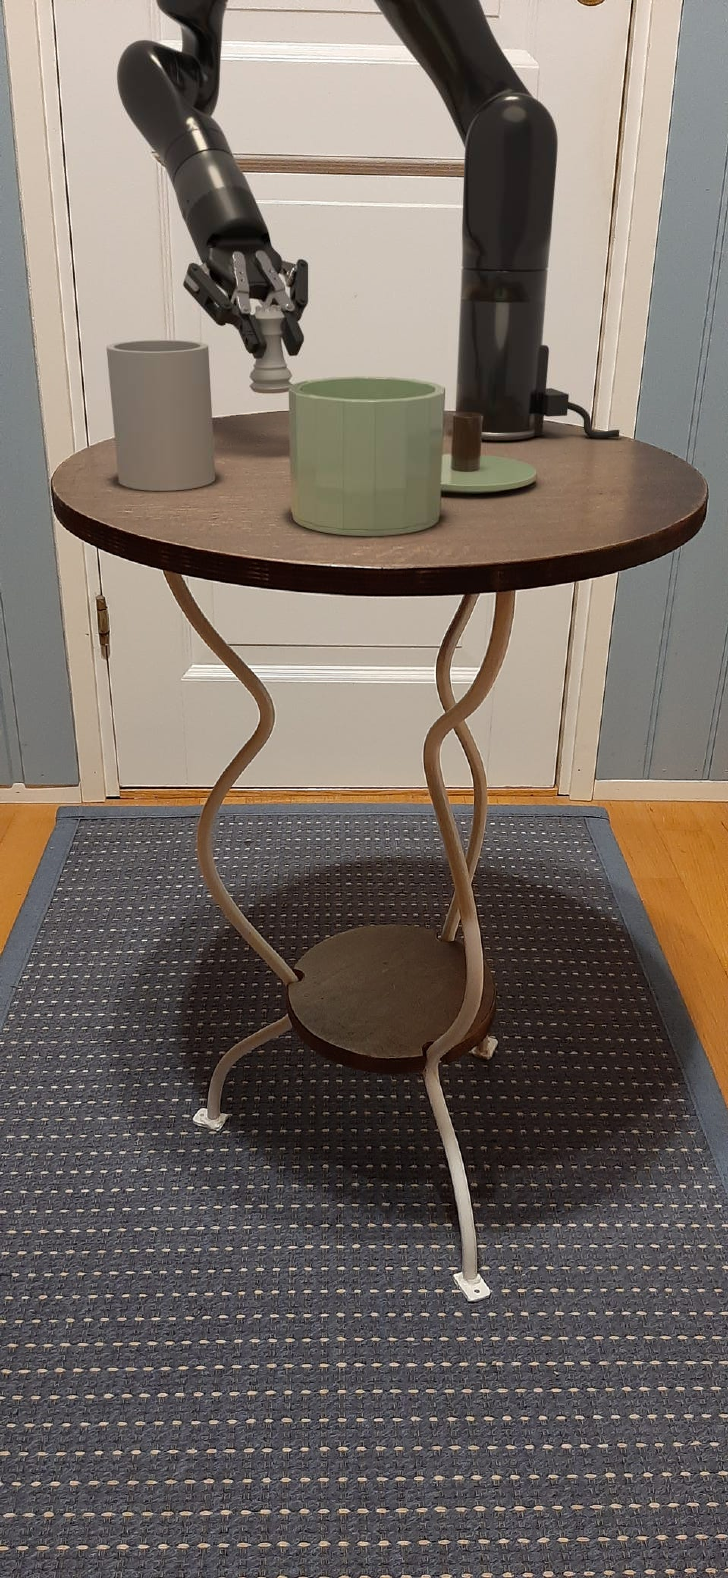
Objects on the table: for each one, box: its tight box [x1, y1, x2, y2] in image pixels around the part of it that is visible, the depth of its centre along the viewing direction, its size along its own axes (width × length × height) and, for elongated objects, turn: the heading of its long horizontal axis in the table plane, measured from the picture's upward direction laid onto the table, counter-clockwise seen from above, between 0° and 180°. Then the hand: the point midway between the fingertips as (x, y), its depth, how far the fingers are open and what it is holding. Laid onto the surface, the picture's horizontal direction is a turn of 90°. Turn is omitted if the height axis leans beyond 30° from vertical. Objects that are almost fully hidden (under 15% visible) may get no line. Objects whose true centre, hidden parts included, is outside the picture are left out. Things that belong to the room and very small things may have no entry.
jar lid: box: [441, 412, 538, 494], centre depth 109 cm, size 14×14×6 cm
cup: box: [106, 339, 216, 492], centre depth 107 cm, size 9×9×12 cm
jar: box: [288, 375, 446, 537], centre depth 96 cm, size 13×13×10 cm
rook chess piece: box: [249, 305, 294, 395], centre depth 116 cm, size 4×4×8 cm
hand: (279, 351), depth 114 cm, fingers closed on rook chess piece, 3 cm apart
